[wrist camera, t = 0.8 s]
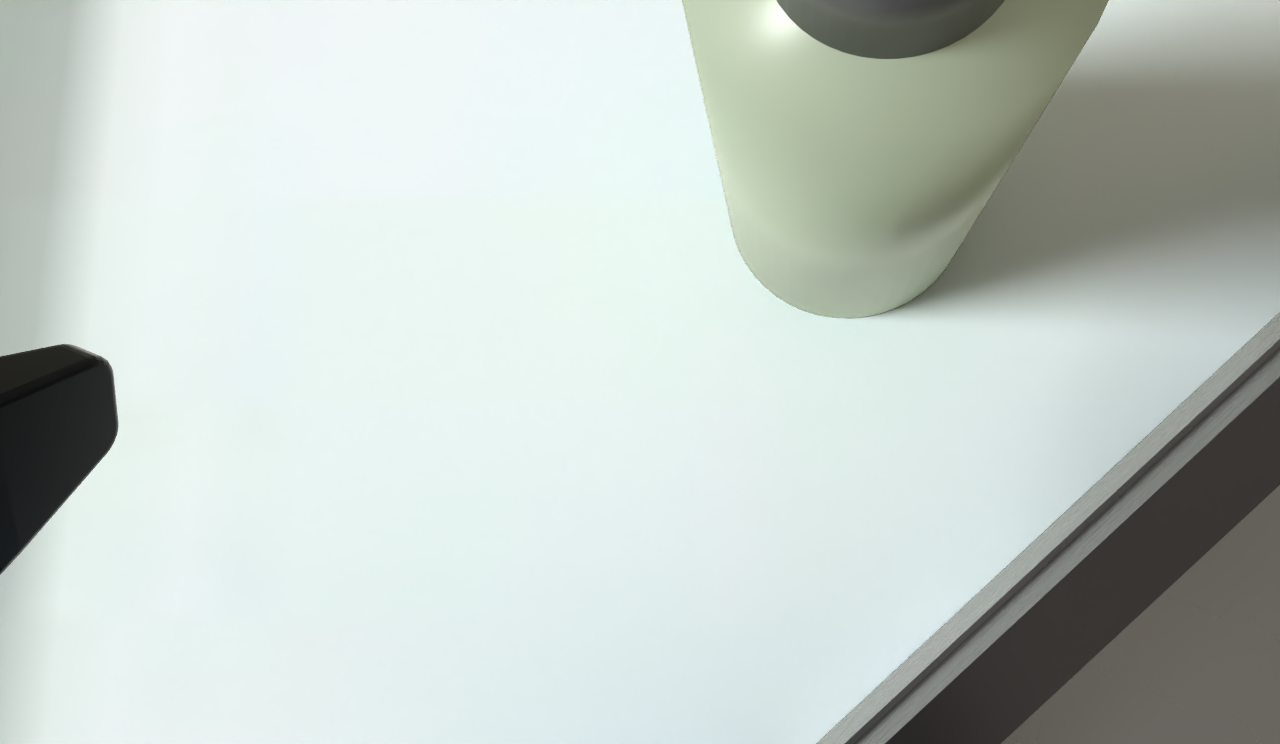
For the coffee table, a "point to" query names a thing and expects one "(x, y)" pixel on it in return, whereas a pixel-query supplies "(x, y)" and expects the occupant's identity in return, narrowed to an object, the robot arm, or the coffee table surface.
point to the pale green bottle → (871, 131)
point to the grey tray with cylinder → (1125, 600)
